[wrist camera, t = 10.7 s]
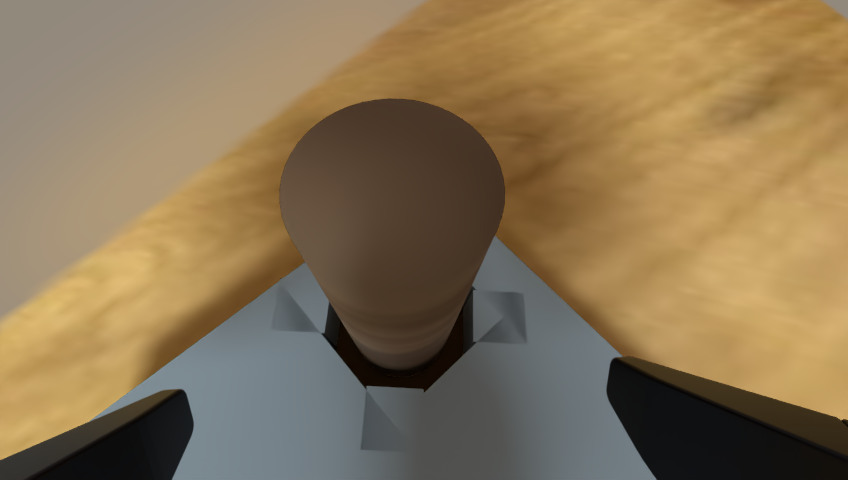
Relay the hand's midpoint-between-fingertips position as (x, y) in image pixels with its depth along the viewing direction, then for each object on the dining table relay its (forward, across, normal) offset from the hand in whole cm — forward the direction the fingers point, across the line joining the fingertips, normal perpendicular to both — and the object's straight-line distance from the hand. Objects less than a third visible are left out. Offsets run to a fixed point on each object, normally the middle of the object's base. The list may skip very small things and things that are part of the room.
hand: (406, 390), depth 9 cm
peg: (+9, 0, -4) cm, 10 cm away
